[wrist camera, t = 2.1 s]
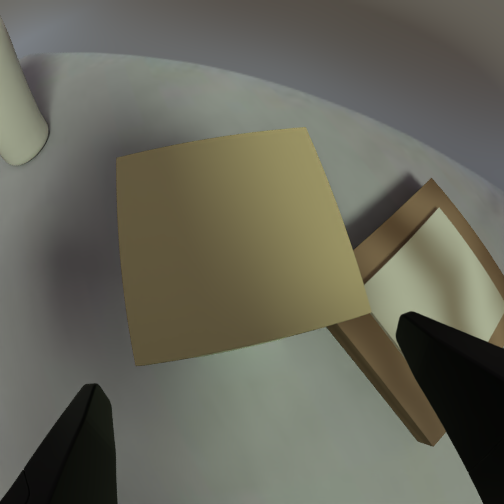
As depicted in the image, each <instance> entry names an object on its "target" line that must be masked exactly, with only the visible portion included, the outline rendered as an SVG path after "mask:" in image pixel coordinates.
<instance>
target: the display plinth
mask: <svg viewBox="0 0 504 504" xmlns="http://www.w3.org/2000/svg"><path fill="white" fill-rule="evenodd" d="M353 252H354V255H355V258H356V261H357V264H358V267H359V271H360V274H361V277H362V280H363V284H364V287H365V290H366V294H367V297H368V301H369V304H370V308H371V311H372V312H371V313H369V314H366V315H363V316H360V317H357V318H354V319H351V320H347V321H344V322H341V323H337V324H334V325H330V326H327V328H328V330H329V331H330V332H331V333H332V335H333V336H334V337H335V338H336V340H337V341H338V342H339V343H340V344H341V346H342V347H343V348H344V349H345V351H346V352H347V353H348V354H349V356H350V357H351V358H352V359H353V361H354V362H355V363H356V364H357V366H358V367H359V368H360V369H361V371H362V372H363V373H364V374H365V376H366V377H367V378H368V379H369V381H370V382H371V383H372V384H373V386H374V387H375V388H376V389H377V391H378V392H379V393H380V394H381V396H382V397H383V398H384V399H385V401H386V402H387V403H388V404H389V406H390V407H391V408H392V409H393V411H394V412H395V413H396V414H397V416H398V417H399V418H400V419H401V421H402V422H403V423H404V425H405V426H406V427H407V428H408V430H409V431H410V432H411V433H412V435H413V436H414V437H415V438H416V440H417V441H418V442H421V443H424V444H427V445H430V446H433V447H434V445H435V444H436V443H437V442H438V441H439V440H440V438H441V437H442V436H443V435H444V434H445V432H446V431H445V429H444V427H443V425H442V424H441V422H440V420H439V418H438V417H437V415H436V413H435V411H434V410H433V408H432V406H431V405H430V403H429V401H428V400H427V398H426V396H425V395H424V393H423V391H422V390H421V388H420V386H419V385H418V383H417V381H416V380H415V378H414V376H413V374H412V372H411V370H410V368H409V366H408V363H407V361H406V359H405V357H404V355H403V353H402V351H401V349H400V347H399V345H398V343H397V341H396V330H397V325H398V321H399V317H400V316H401V315H402V314H404V313H406V312H409V311H414V312H416V313H419V314H421V315H424V316H426V317H429V318H431V319H433V320H436V321H438V322H441V323H443V324H446V325H448V326H450V327H453V328H455V329H458V330H460V331H463V332H465V333H467V334H470V335H472V336H475V337H477V338H480V339H482V340H484V341H487V342H489V343H492V344H494V345H496V346H499V347H501V348H503V346H504V275H503V274H502V272H501V271H500V269H499V267H498V266H497V264H496V263H495V261H494V260H493V258H492V256H491V255H490V253H489V252H488V250H487V249H486V247H485V246H484V245H483V243H482V242H481V240H480V239H479V237H478V236H477V235H476V233H475V232H474V230H473V229H472V228H471V226H470V225H469V224H468V222H467V221H466V220H465V218H464V217H463V216H462V214H461V213H460V212H459V210H458V209H457V208H456V207H455V205H454V204H453V203H452V202H451V200H450V199H449V198H448V197H447V195H446V194H445V193H444V192H443V191H442V189H441V188H440V187H439V186H438V185H437V184H436V182H435V181H434V180H433V179H432V178H431V179H430V180H429V181H428V182H427V183H426V184H425V185H424V186H423V187H422V188H421V189H419V190H418V191H417V192H416V193H415V194H414V195H413V196H412V197H411V198H410V199H409V200H408V201H407V202H406V203H405V204H404V205H403V206H402V207H401V208H399V209H398V210H397V211H396V212H395V213H394V214H393V215H392V216H391V217H390V218H389V219H388V220H386V221H385V222H384V223H383V224H382V225H381V226H380V227H379V228H378V229H377V230H375V231H374V232H373V233H372V234H371V235H370V236H369V237H368V238H367V239H365V240H364V241H363V242H362V243H361V244H360V245H359V246H358V247H356V248H355V249H354V250H353Z"/></svg>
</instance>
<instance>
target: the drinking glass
mask: <svg viewBox="0 0 504 504" xmlns="http://www.w3.org/2000/svg"><path fill="white" fill-rule="evenodd" d="M48 132H49V130H48V125H47V123H46V121H45V119H44V118H43V116H42V114H41V113H40V111H39V108H38V106H37V104H36V102H35V100H34V98H33V95H32V93H31V91H30V88H29V86H28V84H27V81H26V79H25V76H24V74H23V71H22V69H21V66H20V63H19V61H18V58H17V55H16V52H15V50H14V47H13V44H12V42H11V39H10V36H9V34H8V32H7V29H6V27H5V25H4V23H3V21H2V18H1V16H0V156H1V157H2V158H3V159H4V160H5V161H6V162H7V163H8V164H10V165H12V166H19V165H22V164H25V163H26V162H28V161H30V160H31V159H32V158H34V157H35V156H36V155H37V154H38V153H39V151H40V150H41V149H42V147H43V146H44V144H45V142H46V140H47V137H48Z"/></svg>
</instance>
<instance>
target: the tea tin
mask: <svg viewBox="0 0 504 504" xmlns="http://www.w3.org/2000/svg"><path fill="white" fill-rule="evenodd" d="M116 186H117V218H118V235H119V249H120V261H121V271H122V281H123V289H124V298H125V305H126V312H127V319H128V326H129V332H130V338H131V344H132V349H133V355H134V360H135V365H136V366H143V365H151V364H157V363H164V362H170V361H176V360H182V359H188V358H193V357H202V356H208V355H213V354H218V353H223V352H228V351H232V350H237V349H242V348H246V347H251V346H255V345H259V344H264V343H268V342H272V341H276V340H280V339H283V338H286V337H290V336H293V335H297V334H301V333H305V332H309V331H312V330H316V329H320V328H323V327H327V326H330V325H334V324H337V323H341V322H344V321H347V320H351V319H354V318H357V317H360V316H363V315H366V314H369V313H371V312H372V311H371V308H370V304H369V301H368V297H367V294H366V290H365V287H364V284H363V280H362V277H361V274H360V271H359V267H358V264H357V261H356V258H355V255H354V252H353V249H352V246H351V243H350V240H349V237H348V234H347V231H346V228H345V225H344V223H343V220H342V217H341V214H340V211H339V209H338V206H337V203H336V201H335V198H334V195H333V193H332V190H331V187H330V185H329V182H328V180H327V177H326V175H325V172H324V170H323V167H322V165H321V162H320V160H319V157H318V155H317V153H316V150H315V148H314V145H313V143H312V141H311V138H310V136H309V134H308V132H307V129H306V127H302V128H290V129H279V130H270V131H261V132H252V133H244V134H237V135H230V136H223V137H216V138H210V139H204V140H198V141H193V142H187V143H182V144H176V145H171V146H166V147H162V148H157V149H152V150H148V151H143V152H139V153H134V154H130V155H126V156H122V157H118V158H116Z"/></svg>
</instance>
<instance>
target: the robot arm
mask: <svg viewBox="0 0 504 504" xmlns="http://www.w3.org/2000/svg"><path fill="white" fill-rule="evenodd" d="M396 341H397V343H398V345H399V347H400V349H401V351H402V353H403V355H404V357H405V359H406V361H407V363H408V366H409V368H410V370H411V372H412V374H413V376H414V378H415V380H416V381H417V383H418V385H419V386H420V388H421V390H422V391H423V393H424V395H425V396H426V398H427V400H428V401H429V403H430V405H431V406H432V408H433V410H434V411H435V413H436V415H437V417H438V418H439V420H440V422H441V424H442V425H443V427H444V429H445V431H446V432H447V434H448V436H449V438H450V439H451V441H452V443H453V445H454V447H455V449H456V450H457V452H458V454H459V456H460V458H461V460H462V462H463V464H464V465H465V467H466V469H467V471H468V472H469V473H468V474H469V476H470V477H471V479H472V481H473V483H474V485H475V487H476V489H477V491H478V494H479V496H480V498H481V500H482V502H483V504H504V348H501V347H499V346H496V345H494V344H492V343H489V342H487V341H484V340H482V339H480V338H477V337H475V336H472V335H470V334H467V333H465V332H463V331H460V330H458V329H455V328H453V327H450V326H448V325H446V324H443V323H441V322H438V321H436V320H433V319H431V318H429V317H426V316H424V315H421V314H419V313H416V312H414V311H409V312H406V313H404V314H402V315H401V316H400V317H399V321H398V325H397V330H396ZM0 504H118V503H117V483H116V450H115V440H114V430H113V418H112V406H111V403H110V400H109V399H108V397H107V396H106V394H105V393H104V391H103V390H102V388H101V387H100V386H99V385H98V384H96V383H94V384H85V385H84V386H83V387H82V388H81V390H80V391H79V392H78V393H77V395H76V396H75V397H74V399H73V400H72V401H71V403H70V404H69V406H68V407H67V408H66V410H65V411H64V412H63V414H62V415H61V416H60V418H59V419H58V420H57V422H56V423H55V425H54V426H53V427H52V429H51V430H50V432H49V433H48V434H47V436H46V437H45V439H44V440H43V441H42V443H41V444H40V446H39V447H38V448H37V450H36V451H35V453H34V454H33V456H32V457H31V459H30V460H29V462H28V463H27V464H26V466H25V467H24V470H22V472H21V473H20V475H19V476H18V478H17V479H16V481H15V482H14V483H13V485H12V486H11V488H10V489H9V491H8V492H7V493H6V494H5V496H4V497H3V498H2V500H1V501H0Z"/></svg>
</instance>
